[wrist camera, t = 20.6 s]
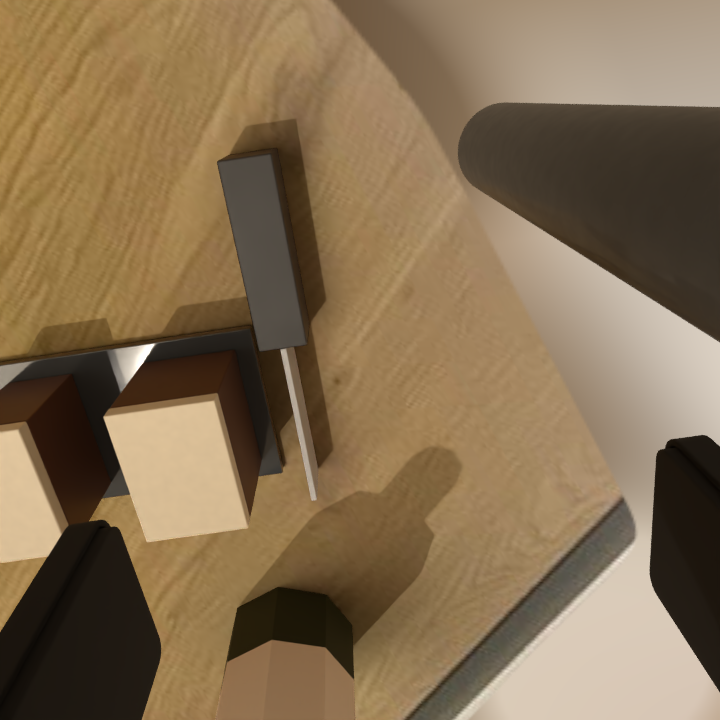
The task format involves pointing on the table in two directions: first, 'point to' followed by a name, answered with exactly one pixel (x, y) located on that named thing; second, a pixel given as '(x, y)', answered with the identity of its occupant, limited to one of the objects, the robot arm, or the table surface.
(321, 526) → the table surface
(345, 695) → the wine bottle
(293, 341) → the knife
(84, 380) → the board
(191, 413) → the cake
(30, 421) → the cake slice
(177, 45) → the table surface
